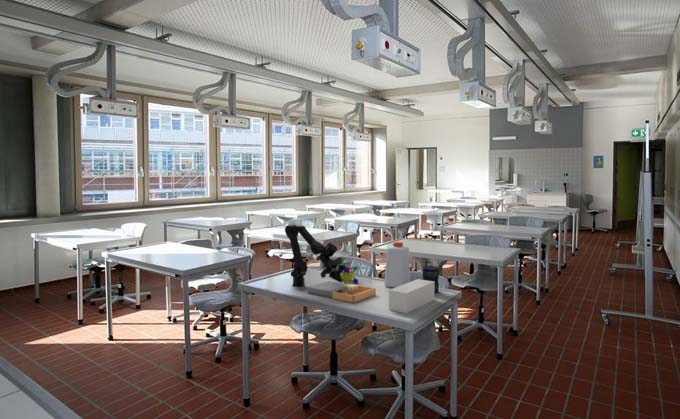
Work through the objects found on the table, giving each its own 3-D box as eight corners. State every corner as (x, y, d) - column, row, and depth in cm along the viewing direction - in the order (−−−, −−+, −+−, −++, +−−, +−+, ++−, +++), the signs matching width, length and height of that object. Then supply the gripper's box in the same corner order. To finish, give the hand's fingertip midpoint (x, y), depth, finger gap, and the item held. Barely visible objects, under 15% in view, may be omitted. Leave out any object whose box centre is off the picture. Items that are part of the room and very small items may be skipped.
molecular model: (346, 286, 298) (346, 268, 297) (338, 284, 303) (339, 266, 303) (359, 283, 305) (359, 266, 305) (352, 281, 311) (352, 264, 310)
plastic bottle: (412, 284, 303) (412, 241, 301) (405, 289, 290) (406, 244, 287) (390, 281, 310) (390, 240, 307) (382, 286, 296) (382, 243, 294)
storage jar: (438, 294, 278) (439, 269, 277) (422, 293, 280) (422, 268, 279) (438, 289, 288) (438, 266, 287) (422, 289, 290) (422, 265, 289)
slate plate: (307, 292, 282) (307, 286, 282) (328, 286, 298) (328, 280, 298) (333, 298, 270) (333, 292, 270) (353, 291, 286) (353, 285, 285)
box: (332, 298, 269) (332, 291, 269) (355, 290, 286) (355, 284, 286) (353, 303, 260) (353, 296, 259) (375, 294, 277) (375, 288, 277)
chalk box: (332, 277, 323) (332, 256, 321) (343, 276, 327) (343, 255, 326) (338, 280, 315) (338, 258, 313) (350, 278, 319) (350, 257, 318)
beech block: (341, 285, 274) (352, 287, 270) (347, 283, 279) (358, 285, 274) (341, 295, 275) (352, 297, 270) (347, 293, 280) (358, 295, 275)
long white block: (417, 297, 273) (417, 278, 272) (434, 300, 266) (434, 281, 265) (388, 309, 248) (388, 289, 247) (406, 313, 241) (406, 293, 240)
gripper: (324, 255, 273) (339, 276, 267) (343, 251, 288) (358, 271, 282) (314, 267, 278) (328, 288, 273) (333, 262, 293) (347, 282, 287)
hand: (341, 281), depth 278 cm, fingers closed
